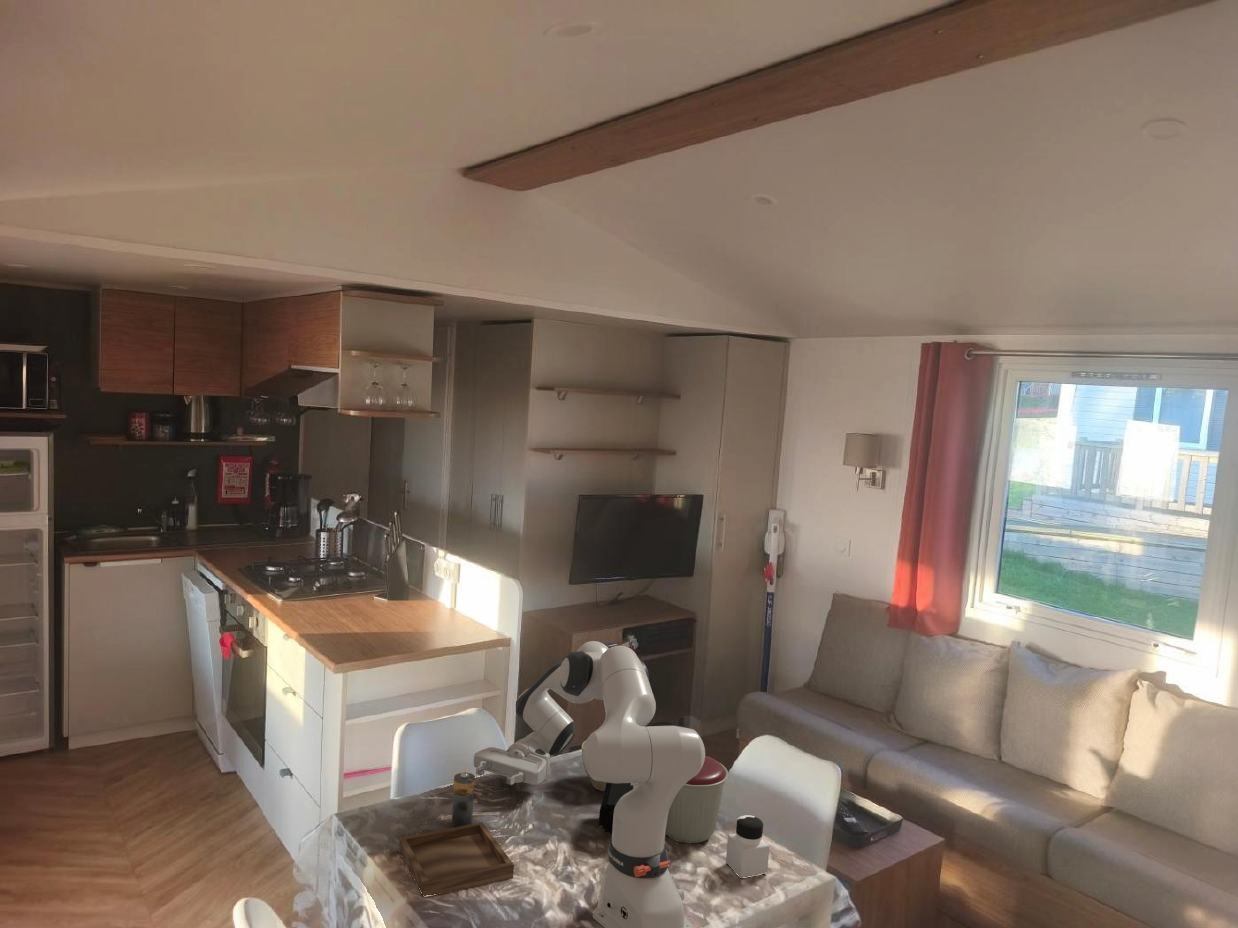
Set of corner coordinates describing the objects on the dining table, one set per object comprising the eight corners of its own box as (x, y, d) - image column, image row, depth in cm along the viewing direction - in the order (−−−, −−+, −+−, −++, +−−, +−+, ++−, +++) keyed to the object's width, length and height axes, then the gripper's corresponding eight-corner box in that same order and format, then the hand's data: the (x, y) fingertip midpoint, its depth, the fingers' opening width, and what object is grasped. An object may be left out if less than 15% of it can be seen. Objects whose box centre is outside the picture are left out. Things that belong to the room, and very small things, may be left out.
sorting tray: (513, 877, 188) (513, 864, 188) (423, 897, 179) (424, 884, 179) (481, 833, 206) (482, 821, 206) (398, 850, 196) (399, 837, 196)
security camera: (632, 811, 222) (634, 774, 221) (625, 848, 204) (628, 808, 203) (605, 808, 223) (608, 771, 222) (596, 845, 204) (599, 804, 204)
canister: (727, 854, 204) (734, 769, 202) (651, 849, 204) (658, 764, 202) (718, 817, 222) (724, 738, 221) (648, 812, 222) (654, 734, 220)
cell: (475, 827, 209) (478, 776, 208) (454, 831, 206) (458, 779, 205) (468, 817, 213) (471, 767, 212) (448, 821, 211) (451, 771, 210)
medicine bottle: (767, 875, 197) (771, 824, 196) (740, 879, 194) (744, 828, 193) (751, 858, 203) (755, 810, 202) (725, 862, 201) (729, 813, 200)
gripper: (491, 737, 237) (461, 754, 225) (554, 755, 229) (527, 774, 216) (489, 759, 238) (459, 777, 225) (553, 778, 229) (525, 798, 217)
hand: (493, 776), depth 221 cm, fingers open, 8 cm apart
